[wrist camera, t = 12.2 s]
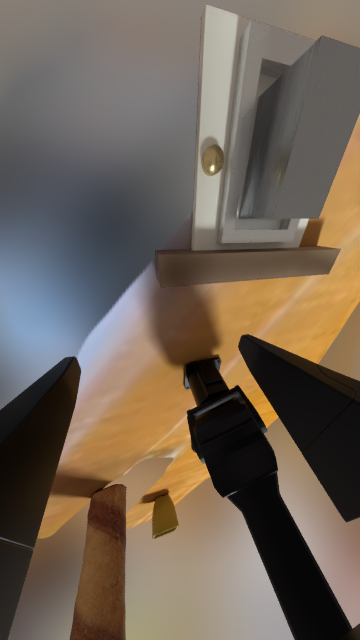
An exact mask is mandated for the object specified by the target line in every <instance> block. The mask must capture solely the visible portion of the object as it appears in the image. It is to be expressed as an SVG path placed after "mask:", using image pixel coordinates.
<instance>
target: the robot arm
mask: <svg viewBox="0 0 360 640" xmlns="http://www.w3.org/2000/svg"><path fill="white" fill-rule="evenodd" d="M238 348H239V351H240V353H241V355H242V357H243V359H244V361H245V363H246V365H247V367H248V368H249V370H250V372H251V374H252V375H253V377H254V378H255V380H256V382H257V383H258V385H259V386H260V388H261V390H262V391H263V393H264V394H265V396H266V397H267V399H268V401H269V402H270V404H271V405H272V407H273V408H274V410H275V412H276V413H277V415H278V416H279V418H280V420H281V421H282V423H283V424H284V426H285V427H286V429H287V430H288V432H289V434H290V435H291V437H292V438H293V440H294V442H295V443H296V445H297V446H298V448H299V450H300V451H301V452H302V454H303V456H304V458H305V459H306V461H307V462H308V464H309V466H310V467H311V469H312V470H313V472H314V473H315V475H316V476H317V478H318V480H319V481H320V483H321V485H322V486H323V488H324V489H325V491H326V492H327V494H328V496H329V497H330V499H331V500H332V502H333V503H334V505H335V507H336V508H337V510H338V511H339V513H340V514H341V516H342V517H343V519H344V520H345V521H346V522H349V521H352V520H354V519H357V518H360V381H358V380H355V379H353V378H350V377H347V376H345V375H343V374H340V373H338V372H335V371H332V370H330V369H328V368H325V367H323V366H321V365H319V364H316V363H314V362H312V361H309V360H307V359H305V358H302V357H300V356H298V355H295V354H293V353H291V352H288V351H286V350H284V349H281V348H279V347H277V346H274V345H272V344H270V343H268V342H265V341H263V340H261V339H258V338H256V337H254V336H251V335H249V334H247V335H242V336H241V338H240V342H239V345H238ZM220 364H221V359H220V358H214V359H208V360H203V361H198V362H193V363H188V364H186V365H185V384H184V387H185V389H186V390H187V389H191V391H192V393H193V396H194V399H195V402H196V405H197V407H195V408H193V409H191V410H188V411H187V415H188V417H187V419H188V424H189V430H190V435H191V447H192V450H193V451H194V452H196V453H197V455H198V457H199V459H200V460H201V462H202V463H205V464H206V466H207V469H208V471H209V474H210V476H211V479H212V482H213V485H214V488H215V489H216V490H217V492H218V493H219V494H220V495H221V496H222V497H223V498H225V497H227V498H228V499H229V500H230V501H231V502H232V503H233V504H234V505H235V506H236V507H237V508H238V509H239V510H240V511H241V512H242V514H243V516H244V518H245V520H246V523H247V525H248V528H249V530H250V533H251V535H252V537H253V540H254V542H255V545H256V547H257V550H258V552H259V554H260V557H261V559H262V562H263V564H264V567H265V569H266V571H267V574H268V576H269V579H270V581H271V584H272V586H273V588H274V591H275V593H276V596H277V598H278V601H279V603H280V605H281V608H282V610H283V613H284V615H285V617H286V620H287V622H288V625H289V627H290V630H291V632H292V635H293V637H294V639H295V640H360V624H358V625H357V626H356V627H355V628H353V629H352V627H351V625H350V623H349V621H348V620H347V617H346V616H345V614H344V612H343V610H342V608H341V606H340V605H339V603H338V601H337V599H336V597H335V595H334V593H333V592H332V590H331V588H330V586H329V584H328V582H327V580H326V579H325V577H324V575H323V573H322V571H321V569H320V567H319V566H318V564H317V562H316V560H315V558H314V556H313V555H312V553H311V551H310V549H309V547H308V545H307V543H306V542H305V540H304V538H303V536H302V534H301V532H300V530H299V529H298V527H297V525H296V523H295V521H294V519H293V517H292V516H291V514H290V512H289V510H288V508H287V506H286V505H285V503H284V501H283V499H282V497H281V495H280V492H279V485H278V477H277V471H278V468H277V462H276V457H275V453H274V451H273V449H272V447H271V445H270V444H269V442H268V440H267V438H266V437H265V435H264V433H265V432H267V428H266V426H265V424H264V422H263V421H262V419H261V417H260V415H259V414H258V412H257V411H256V409H255V408H254V406H253V405H252V403H251V402H250V401H249V399H248V398H247V397H246V395H245V394H244V392H243V391H242V390H241V388H240V387H239V386H238V385H237V386H235V387H234V388H232V389H230V390H229V388H228V386H227V385H226V383H225V381H224V380H223V378H222V376H221V374H220V372H219V369H220ZM80 375H81V368H80V366H79V363H78V360H77V358H76V357H74V356H73V357H66V358H64V359H63V360H62V361H60V362H59V363H58V364H57V365H55V366H54V367H53V368H52V369H50V370H49V371H48V372H47V373H46V374H44V375H43V376H42V377H41V378H39V379H38V380H37V381H36V382H34V383H33V384H32V385H31V386H29V387H28V388H27V389H26V390H24V391H23V392H22V393H21V394H19V395H18V396H17V397H16V398H15V399H13V400H12V401H11V402H10V403H8V404H7V405H6V406H5V407H4V408H2V409H1V410H0V640H8V637H9V633H10V629H11V626H12V623H13V619H14V616H15V612H16V609H17V605H18V602H19V599H20V595H21V592H22V588H23V585H24V581H25V578H26V574H27V571H28V568H29V564H30V560H31V557H32V554H33V548H34V546H35V543H36V539H37V536H38V532H39V529H40V526H41V522H42V519H43V515H44V512H45V508H46V505H47V501H48V498H49V495H50V491H51V488H52V484H53V481H54V477H55V474H56V470H57V467H58V463H59V460H60V457H61V453H62V450H63V446H64V443H65V439H66V436H67V432H68V429H69V426H70V422H71V419H72V415H73V412H74V408H75V404H76V399H77V393H78V387H79V381H80Z"/></svg>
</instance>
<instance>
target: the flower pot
mask: <svg viewBox="0 0 360 640" xmlns="http://www.w3.org/2000/svg"><path fill="white" fill-rule="evenodd" d="M152 526H153V527H152V531H153V539H156V538H159V537H161V536H164V535H166V534H168V533H171V532H173V531H175V530H176V529H177V528H178V526H179V525H178V520H177V516H176V511H175V507H174V504H173V502H172V500H171V498H170V496H169V495H168V494H166V495H164V496H162V497H157V498H156V499H155V504H154V508H153V517H152Z"/></svg>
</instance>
